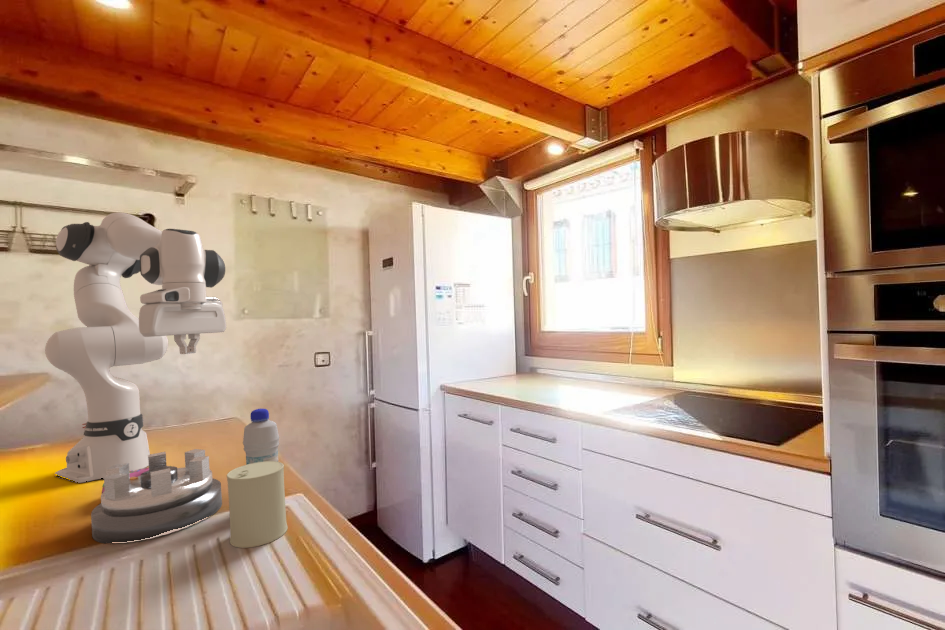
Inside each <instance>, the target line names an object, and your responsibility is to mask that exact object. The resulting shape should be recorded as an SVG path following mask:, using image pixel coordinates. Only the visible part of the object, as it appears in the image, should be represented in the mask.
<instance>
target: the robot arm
mask: <svg viewBox="0 0 945 630" xmlns="http://www.w3.org/2000/svg"><path fill="white" fill-rule="evenodd" d="M55 246H56V247H55V248H56V252H57V253H58V254H59V256H61V257H63V258H64V259H66V260H70V261H73V262H79V263H83V264H86V265H87V266H84V267H82V268H80V269H79V270H78V271H77V272H76V274H75V276H74V279H73V297H74V302H75V303H74V304H75V309H76V313H77V318H78V320H79V321H80V322H81V323H82V324H83V325H84V327H83V326H82V327H80V326H79V327H75V328H69V329H63V330H58V331H55V332H54V333H53V334H52V335H50V337H49V338H48V339H47V341H46V344H45V348H44V353H45V357H46V358H47V360H48V362H49V364H51V365H52V366H53V367H54V368H57V369H58V370H61V371H63V372H65V373H67V374H68V375H70V376H71V377H72V378H73V379H74V380H76V382H77V383H78V384H79V386H80V387H81V388H82V391H83V393H84V396H85V402H86V409H87V422H85V423H82V424H81V425H82V429H84V432H83V437H82V438H81V439H79V441H78V442H76V444H75V445H74V446H73V447H71V448H70V450H68V452H67V455H65V456H66V457H65V461H66V467H65V468H63V469H62V468H61V469H60V470H58V471H55V472H54V475H55V474H57V475H59V476H62V477H65V478H68V479H70V480H73V481H75V482H74V483H77V482H78V484H79V483H80V484H81V483H87V482H92V481H95V480H102V479H101V478H103V479H104V477H106V469H107V468H109V467H111V466H113V465H115V464H125V463H129V471H135V470H138V469H143V468H147V467H149V462H148V455H150V454H151V453H150V448H149V447H150V445H149V441H148V437H147V436H148V435H147V432H146V431H144V430H143V427H144V417H143V414H142V413H141V401H140V400H141V397H140V389H139V386H138V385H137V384H136V383H135V382H132V381H130V380H127V379H124V378H120V377H117V376H114V375H112V373H111V372H110V368H113V367H120V366H121V367H122V366H132V365H133V366H134V365H142V364H145V363H146V364H147V363H150V362H154V361H157V360H160V359H162V358H163V357H164V356H165V354H166V353H167V351H168V349H169V339H168V336H173V340H174V342H175V343H176V345H177V346H178V349H179V354H180V355H189V354H195V353H197V345H198V344H199V342H200V339H201V335H202V334H215V333H224V332H226V329H227V322H226V321H227V320H226V315H225V310H224V308H223V302H222V301H221V299H219V298H218V297H216V296H212V297H211V296H207V288H214V287H216V286H217V285H218V284H219V283H220V282H221V281H222V280H224V279H223V278H224V277H225V274H226V265H225V261H224V259H223V258H222V257H221V255H220V254H218V252H216V251H215V250H214V249H204V248H203V247H204V245H203V241H202V237H201V235H200V234H199V233H198V232H196V231H194V230H187V229H180V228H179V229H178V228H166V229H164V230H162V229H159V228H157V227H155V226H153V225H151V224H150V223H148V222H146V221H145V220H143V219H142V218H140V217H138V216H136V215H134V214H130V213H127V212H121V211H118V212H111V213H109V214H107V215H106V216H105V217H103V219H102V220H101V223H100V225H93V224H91V223H90V222H89V221H85V222H83V223H70V224H68V225H65V226H63V227H61V229H60V231H59V232H58V234H57V236H56V239H55ZM139 273H140V276H142V278H143V279H144V280H145V281H147V282H148V283H149V284H152V285H156V286H161V289H156V290H153V291H150V292H146V293H143V294H141V295H140V297H139V299H140V303H141V304H143V305H141V306H140V308H139V313H138V316H136V315H135V314H134V313H132V311H131V310H130V309H129V307H128V304H127V302H126V299H125V295H124V292H123V288H122V285H121V281H120V280H121V277H122V278H123V279H130V278H131V277H132V276H133V275H137V274H139ZM200 334H201V335H200ZM187 337H188V340H189V343H188V344H187V343H186V341H185V340H187ZM70 480H69V481H70ZM73 481H72V482H73ZM86 481H87V482H86Z"/></svg>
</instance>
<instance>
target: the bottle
mask: <svg viewBox="0 0 945 630" xmlns="http://www.w3.org/2000/svg"><path fill="white" fill-rule="evenodd" d="M242 438H243V439H242V444H243V451H244V452H245V465H247V464H252V463H257V462H265V461H277V462H279V449H278V447H279V445H280V435H279V430H278V426H277V423H276V422H275V421H273V420H270V413H269V410H268V409H266V408H256V409H253V410H251V412H250V423H248V424H247V425H245V427H244V428H243V437H242Z"/></svg>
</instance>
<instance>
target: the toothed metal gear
mask: <svg viewBox="0 0 945 630" xmlns="http://www.w3.org/2000/svg"><path fill="white" fill-rule="evenodd" d="M148 462H149V466H148V467H149V471H146V472H144V473H142V474H141V475H140V476H138V477H130V474H129V463H125V464H115V465H113V466H111V467H109V468H107V469H106V477H104V478H103V483H104V488H105V491H104V492H103V493H102V492H101V495H100V502H101V503H100V504H101V506H102V512H103V513H105V514H108V515H116V516H124V515H135V514H143V513H148V512H153V511H158V510H162V509H166V508H170V507H173V506H176V505H179V504H182V503H185V502H188V501H190V500H193V499H195V498H197V497H199V496H201V495H203V494H204V493H206V492H207V491H209V490H210V489H211V487H212V485H213V480H212V478H213V471H212V470H211V469H210V456H209V455H206V449H199V448H194V449H192V450H191V449H190V450H188V451H185V452H184V465H185V467H177V466H174V465H173V466H171V465H167V453H166V451H162V452H161V451H160V452H157V453H156V452H155V453H150V455H148ZM166 465H167V466H168V467H167V466H166Z"/></svg>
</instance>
